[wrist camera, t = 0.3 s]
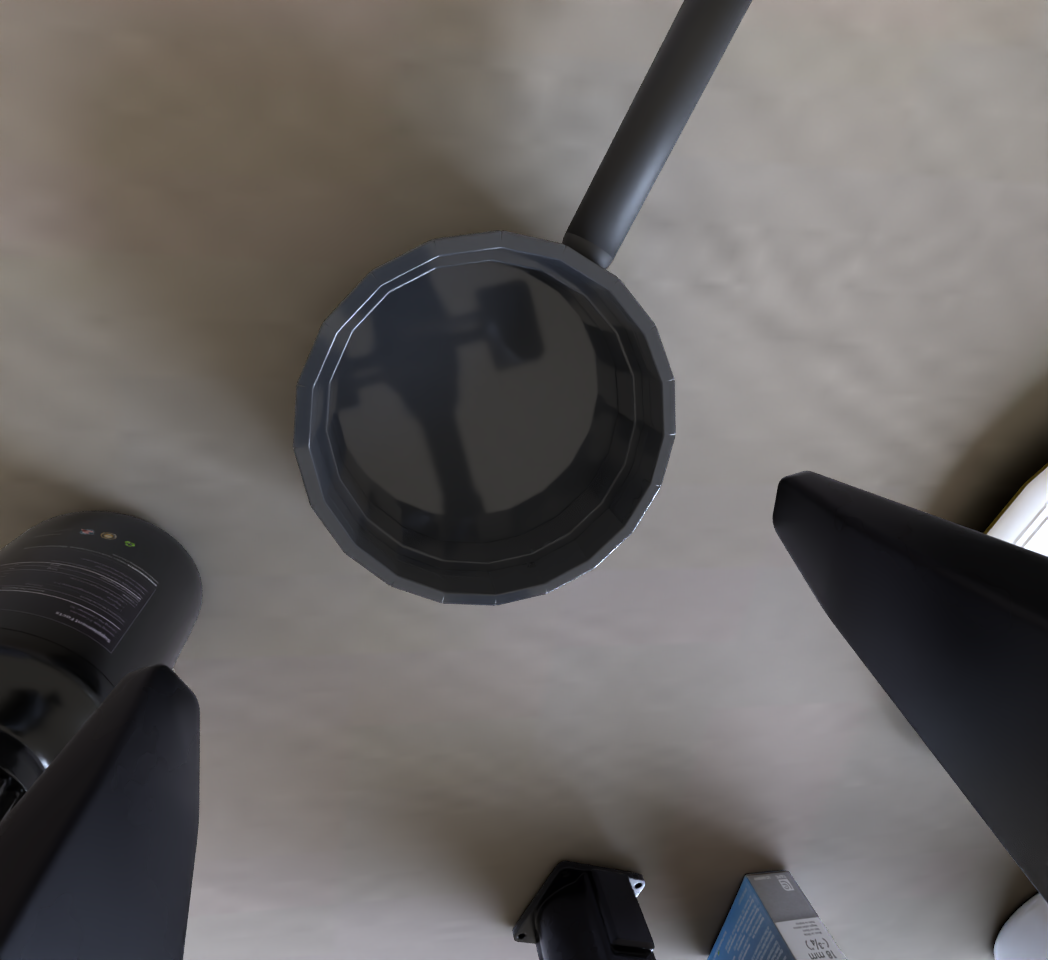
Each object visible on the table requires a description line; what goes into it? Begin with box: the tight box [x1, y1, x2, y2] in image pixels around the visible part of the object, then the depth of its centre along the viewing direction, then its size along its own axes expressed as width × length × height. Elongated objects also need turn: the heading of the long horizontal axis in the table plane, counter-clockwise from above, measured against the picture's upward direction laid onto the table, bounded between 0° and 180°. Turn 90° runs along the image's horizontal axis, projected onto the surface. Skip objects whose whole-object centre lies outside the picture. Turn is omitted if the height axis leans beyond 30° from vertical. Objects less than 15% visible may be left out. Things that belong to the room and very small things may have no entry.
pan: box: [293, 230, 676, 606], centre depth 21 cm, size 13×13×4 cm
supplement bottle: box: [0, 511, 202, 823], centre depth 17 cm, size 7×7×12 cm
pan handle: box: [562, 0, 752, 269], centre depth 18 cm, size 11×2×2 cm, turn 151°
